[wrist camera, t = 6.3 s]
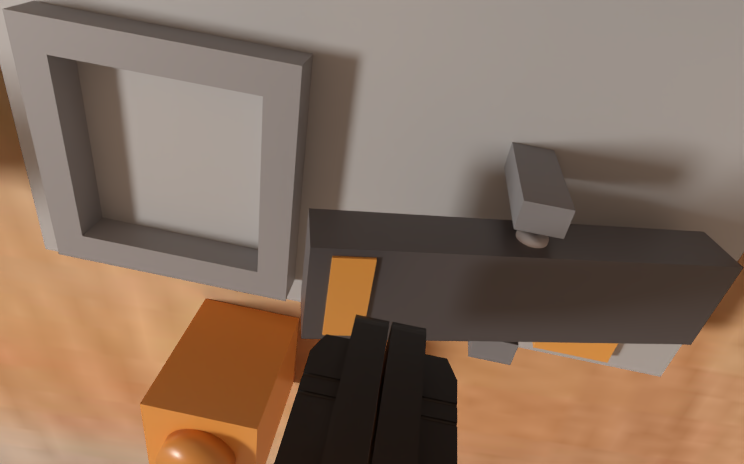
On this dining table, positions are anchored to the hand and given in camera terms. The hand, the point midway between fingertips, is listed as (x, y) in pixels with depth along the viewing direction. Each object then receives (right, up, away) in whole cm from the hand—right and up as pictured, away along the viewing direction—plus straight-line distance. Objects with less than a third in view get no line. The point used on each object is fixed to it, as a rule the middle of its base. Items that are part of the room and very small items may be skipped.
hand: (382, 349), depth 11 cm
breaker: (+3, +1, +3) cm, 5 cm away
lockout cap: (-6, -3, +14) cm, 16 cm away
